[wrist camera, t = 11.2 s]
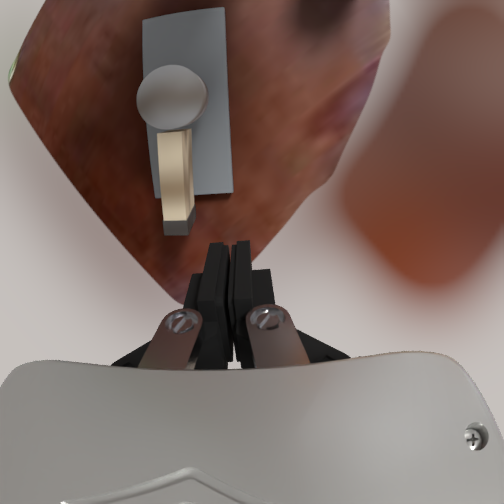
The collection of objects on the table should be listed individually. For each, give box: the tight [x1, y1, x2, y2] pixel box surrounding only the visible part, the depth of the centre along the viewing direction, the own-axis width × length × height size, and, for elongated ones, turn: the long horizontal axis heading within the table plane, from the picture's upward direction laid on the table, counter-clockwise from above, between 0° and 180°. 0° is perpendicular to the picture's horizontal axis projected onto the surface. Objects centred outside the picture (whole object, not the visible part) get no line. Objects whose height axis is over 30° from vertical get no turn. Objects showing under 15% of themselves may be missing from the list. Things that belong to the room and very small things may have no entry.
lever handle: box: [137, 65, 209, 235], centre depth 27 cm, size 17×6×5 cm, turn 179°
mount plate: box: [142, 7, 233, 198], centre depth 28 cm, size 24×10×4 cm, turn 2°
